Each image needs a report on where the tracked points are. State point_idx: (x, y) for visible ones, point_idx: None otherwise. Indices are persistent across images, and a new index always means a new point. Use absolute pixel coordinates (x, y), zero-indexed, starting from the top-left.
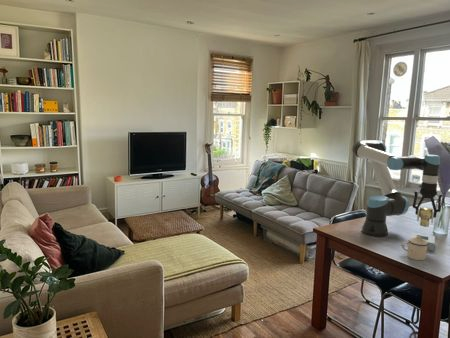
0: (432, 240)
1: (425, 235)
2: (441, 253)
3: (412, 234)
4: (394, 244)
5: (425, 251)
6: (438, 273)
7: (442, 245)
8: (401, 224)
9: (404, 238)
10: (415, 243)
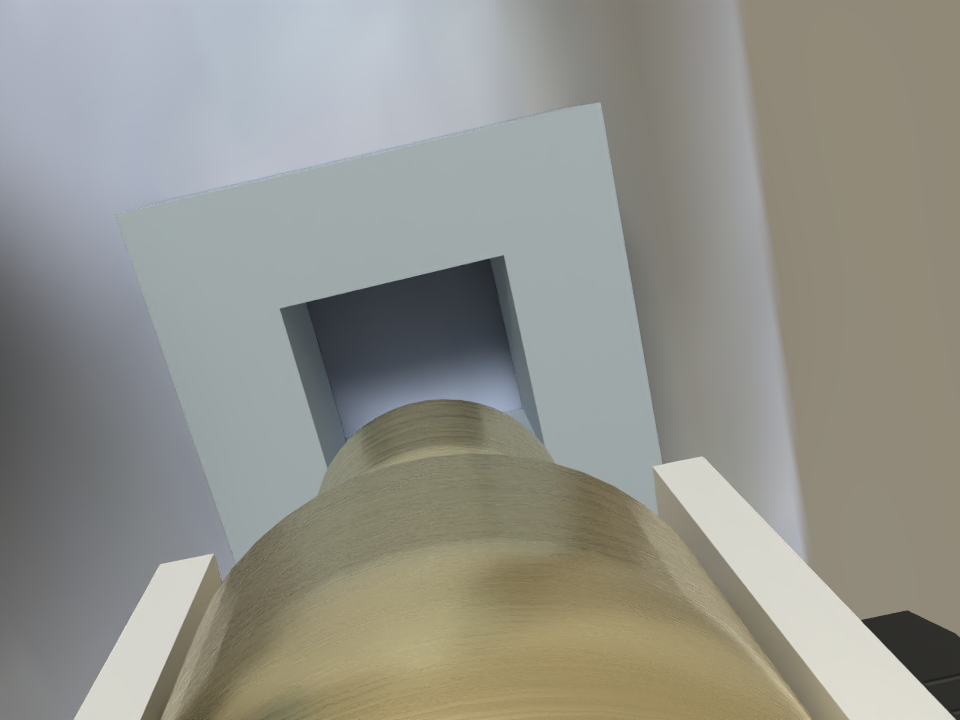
0: (615, 407)
1: (424, 198)
2: (743, 475)
3: (197, 363)
4: (90, 669)
5: None
6: None
7: (699, 78)
8: None
9: (61, 252)
10: None
